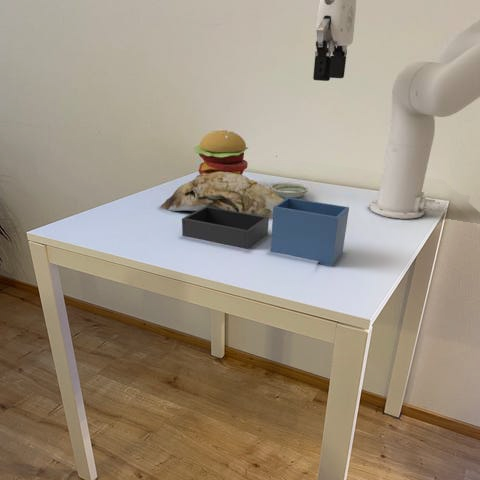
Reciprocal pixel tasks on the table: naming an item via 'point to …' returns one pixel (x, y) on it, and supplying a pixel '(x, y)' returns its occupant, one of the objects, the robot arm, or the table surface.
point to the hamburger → (222, 152)
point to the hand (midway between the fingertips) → (328, 79)
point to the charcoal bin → (225, 227)
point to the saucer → (289, 190)
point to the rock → (224, 195)
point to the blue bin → (309, 230)
